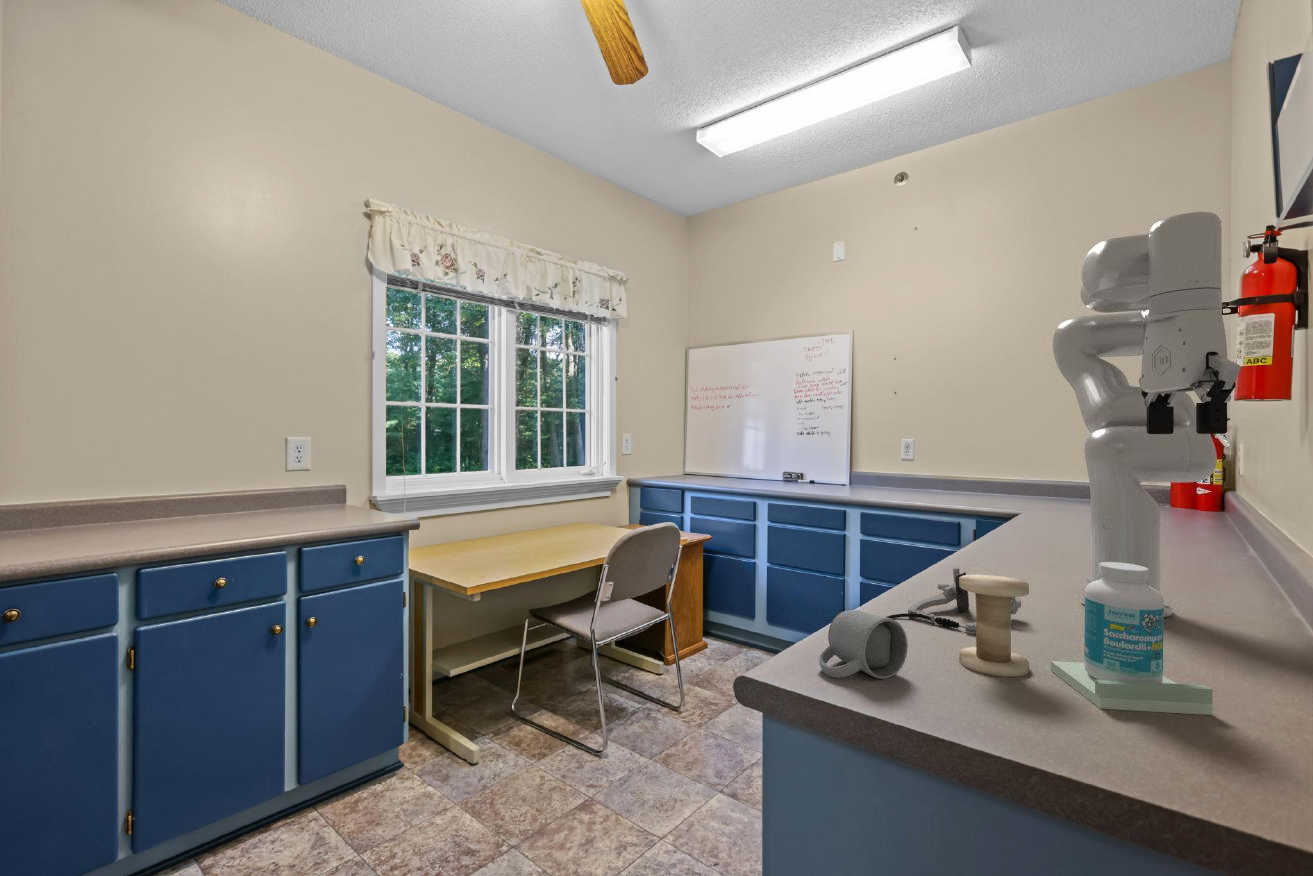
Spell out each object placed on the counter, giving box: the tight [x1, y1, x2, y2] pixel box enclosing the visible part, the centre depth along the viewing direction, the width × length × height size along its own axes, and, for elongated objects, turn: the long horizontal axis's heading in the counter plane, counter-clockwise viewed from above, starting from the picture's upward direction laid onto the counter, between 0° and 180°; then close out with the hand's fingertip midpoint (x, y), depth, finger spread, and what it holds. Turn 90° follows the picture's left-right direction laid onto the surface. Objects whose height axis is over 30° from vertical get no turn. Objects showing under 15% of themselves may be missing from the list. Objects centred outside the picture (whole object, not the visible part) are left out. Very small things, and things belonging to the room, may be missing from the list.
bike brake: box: [885, 566, 1022, 635], centre depth 99 cm, size 14×7×20 cm
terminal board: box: [1050, 660, 1214, 716], centre depth 71 cm, size 11×11×3 cm
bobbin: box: [958, 573, 1030, 678], centre depth 79 cm, size 8×8×11 cm
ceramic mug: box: [818, 609, 909, 680], centre depth 78 cm, size 10×8×7 cm
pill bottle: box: [1083, 562, 1165, 683], centre depth 72 cm, size 8×7×14 cm
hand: (1184, 433), depth 82 cm, fingers open, 9 cm apart
